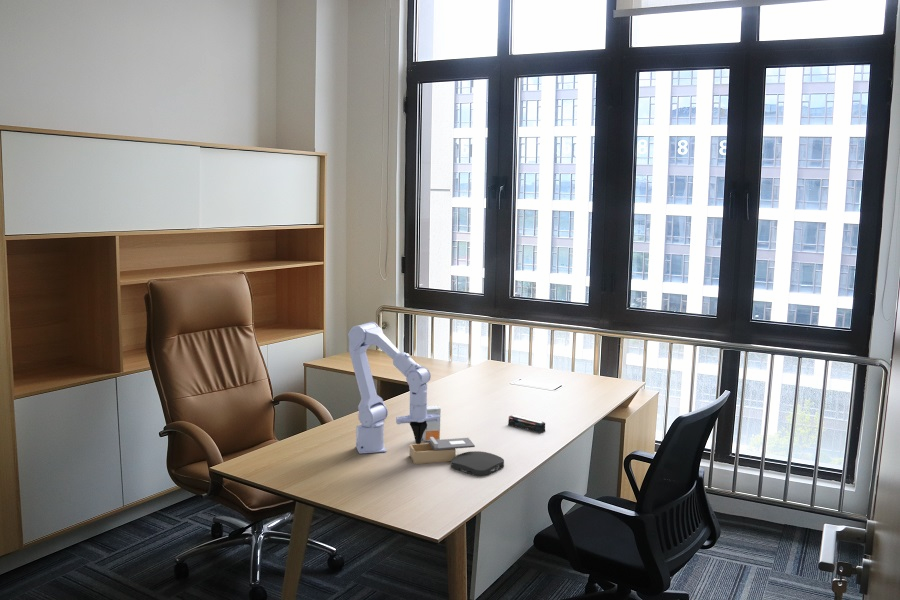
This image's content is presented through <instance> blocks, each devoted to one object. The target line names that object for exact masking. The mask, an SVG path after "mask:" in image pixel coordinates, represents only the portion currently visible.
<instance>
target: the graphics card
mask: <svg viewBox="0 0 900 600" xmlns="http://www.w3.org/2000/svg"><path fill="white" fill-rule="evenodd" d="M507 422H508V423H507V424H508V426H512V427H516V428H517V429H523V430H527V431H530V432H533V433H538V434H543V433H545V432H546V422H544V421H541V420H537V419H533V418H529V417H525V416H521V415H516V414H511V415H509V416H508V421H507Z"/></svg>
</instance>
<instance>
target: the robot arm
mask: <svg viewBox="0 0 900 600" xmlns="http://www.w3.org/2000/svg"><path fill="white" fill-rule="evenodd" d="M347 336H348V337H347V338H348V341H349V343H348V351H349V355H350V360H351V362H352V363H351V364H352V368H353V372H354V374H355V378H356V382H357V387H358V390H359V395H360V398H361V399H360V402H359V404H358V406H357V410H358V414H357V415H358V416H357V417H358V421H359V423H360V424H357V425H356V427H355V429H356V431H355V433H356V435H355V436H356V437H355V438H356V439H355V447H356V449H357V452H358V455H359V454H360V455H361V454H372V453H375V454H376V453H385V452H387V448H386V447H385V442H384V437H385V436H384V435H385V433H384V431H385V426H384V425H385V424H384V423H385V420H386V419H387V417H388V415H389V414H388V413H389V410H388V407H387V406H386V405H385V402H384V399H383V398H382V397H381V396H379V395H378V394H377V390H376V386H375V382H374V377H373V374H372V370H371V366H370V362H369V359H368V354H367V350H368V348H369V347H370V346H376V347H378V349H380V350H382V352H384V353H385V354H386V355H387V356H388V357H389V358H391V359H392V364H393V366H394V367H395V368H396V369H398V371H399V372H400V373H401V374H402V375H403V376H404V377H405V378H406V382H407V385H408V386H409V387H408V389H409V414H407V415H403V416H396V419H395V423H396V425H401V424H409V425H410V428H411V430H412V433H413V438H414V444H422V443H421V442H422V440H423V439H422V436H423V433H424V431H425V429H426V428H427V423H426V422H433V421H437V422H440V423H441V415H440V416H439V415H431V414H427V406H428V383H429V382H430V381H431V379H432V377H431V372H430V370H429V369H428V368H427V367H426V366H423V365H422V366H421V365H420V364H419V363H417V362H416V361H415V360H414V359H413V358H412V357H411V355H410V354H409V353H406V352H405V351H404V352H403V351H402V352H401V351H399V349H398V348H397V347H396V345H395V344H394V343H393V342H392V341H391V340H390V339H389V338H388V337H387V336H386V335H385V334H384V331H383V328H382V327H380V326H379V325H378V324H377V322H375V321H369V322H365V323H363V324H359V325H354V326H352V327H351V329H350V330H349V332H348V333H347Z"/></svg>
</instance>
